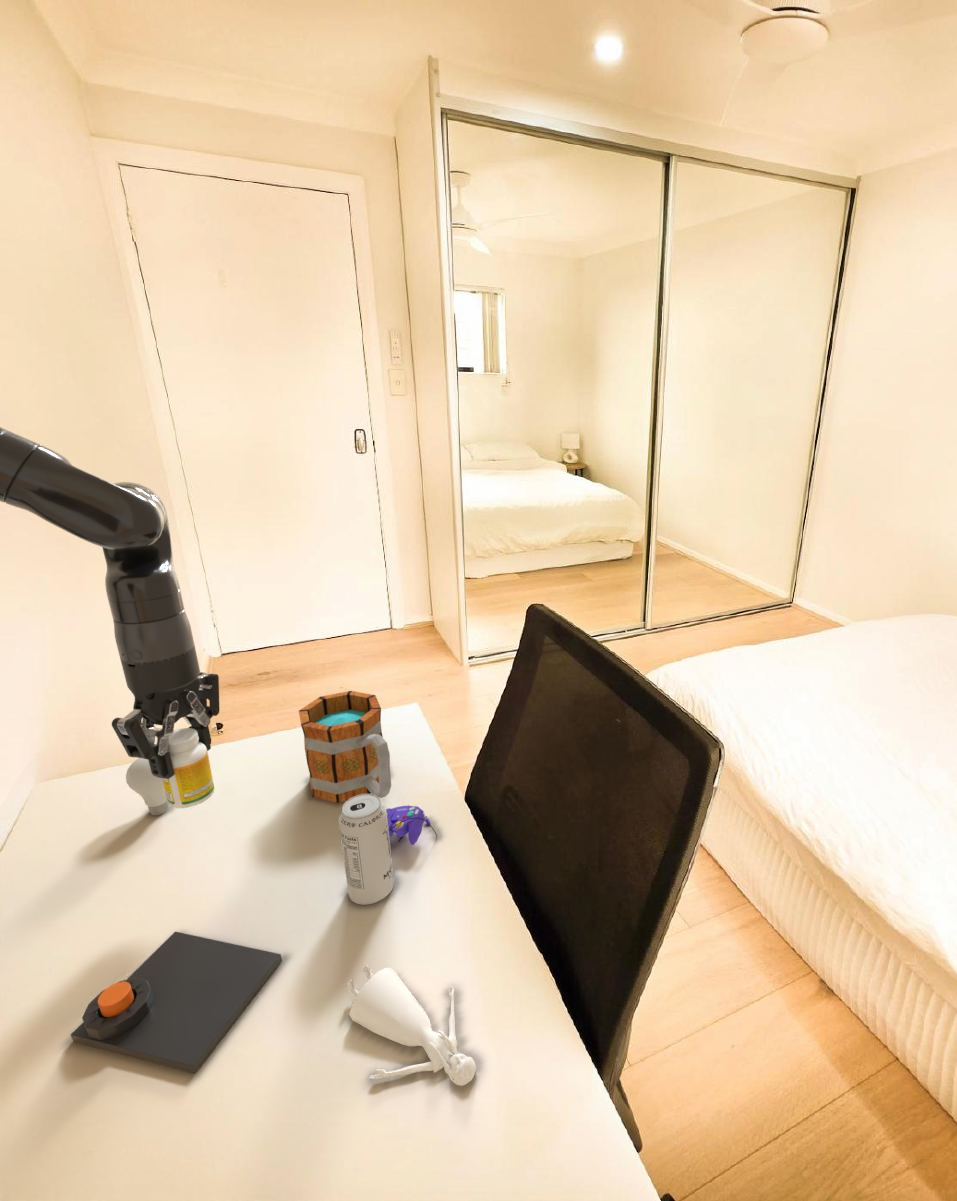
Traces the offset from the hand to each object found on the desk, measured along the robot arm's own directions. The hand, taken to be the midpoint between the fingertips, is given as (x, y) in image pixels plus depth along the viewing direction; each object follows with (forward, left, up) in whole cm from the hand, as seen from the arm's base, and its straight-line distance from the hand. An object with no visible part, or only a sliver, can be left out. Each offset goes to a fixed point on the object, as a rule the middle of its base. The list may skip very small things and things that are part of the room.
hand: (184, 762), depth 79 cm
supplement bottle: (0, 0, -6) cm, 6 cm away
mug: (+9, +23, -20) cm, 31 cm away
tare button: (+7, -20, -16) cm, 27 cm away
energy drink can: (+24, +2, -20) cm, 31 cm away
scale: (+12, -17, -19) cm, 28 cm away
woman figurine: (+39, -15, -20) cm, 46 cm away
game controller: (+23, +13, -20) cm, 33 cm away
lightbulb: (-18, +9, -20) cm, 28 cm away
